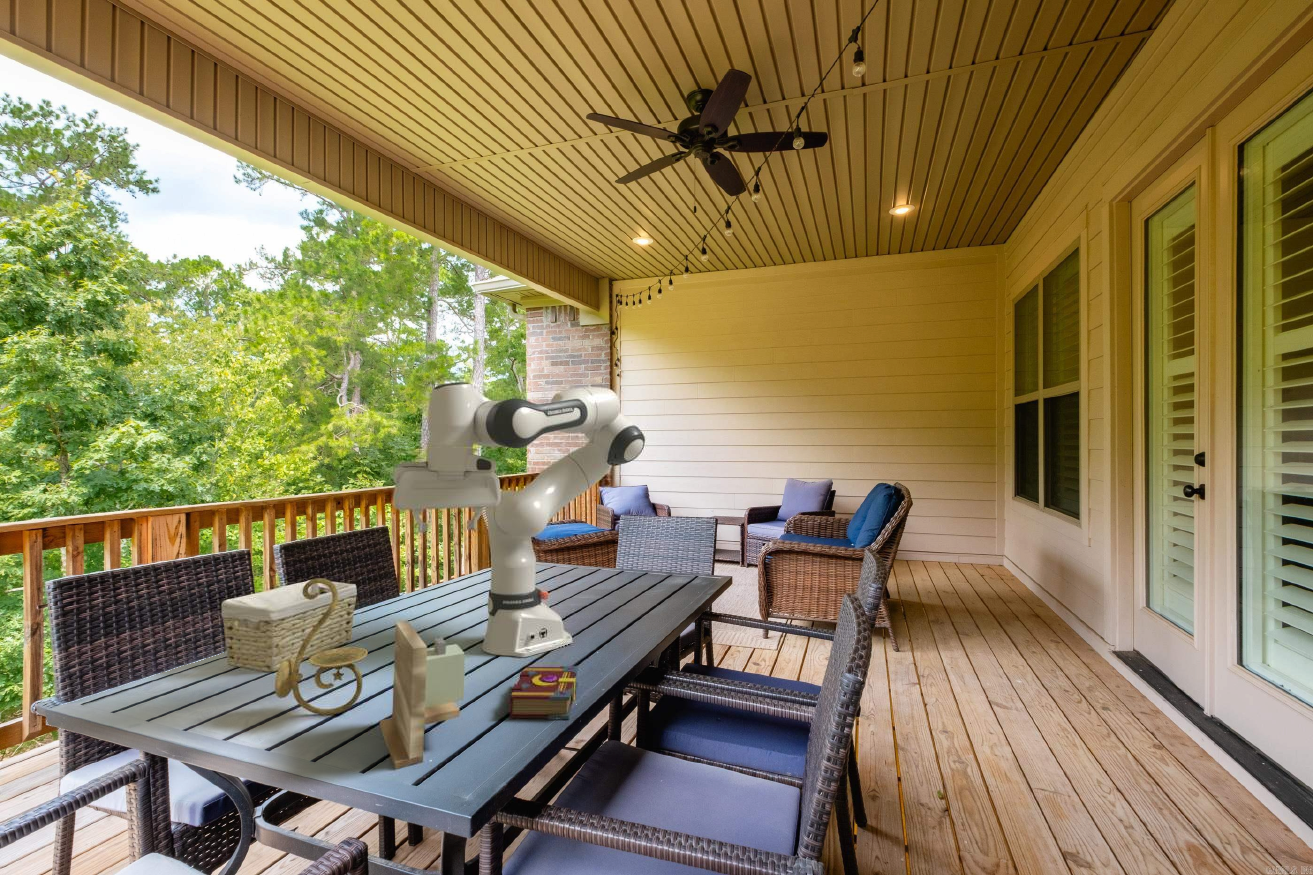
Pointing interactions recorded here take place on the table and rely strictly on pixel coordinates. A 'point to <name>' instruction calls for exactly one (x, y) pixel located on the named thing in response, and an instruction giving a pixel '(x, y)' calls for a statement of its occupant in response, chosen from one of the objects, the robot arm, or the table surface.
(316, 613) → the storage basket
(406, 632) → the wall board
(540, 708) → the decorative book
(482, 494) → the robot arm
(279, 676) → the wall sconce
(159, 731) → the table surface
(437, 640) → the sage cabinet
